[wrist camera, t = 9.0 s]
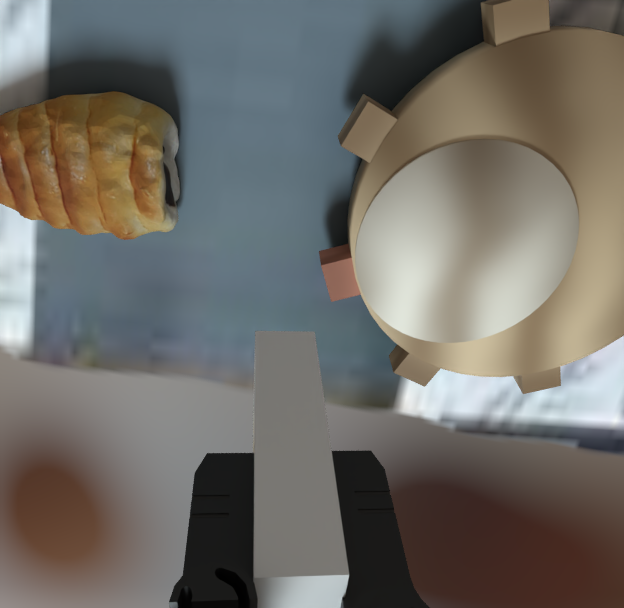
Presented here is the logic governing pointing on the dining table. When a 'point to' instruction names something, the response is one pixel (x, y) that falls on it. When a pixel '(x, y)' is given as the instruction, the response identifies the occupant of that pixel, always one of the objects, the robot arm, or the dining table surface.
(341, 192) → the dining table surface
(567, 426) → the dining table surface
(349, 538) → the robot arm
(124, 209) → the pastry
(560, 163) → the turntable
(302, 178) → the dining table surface
